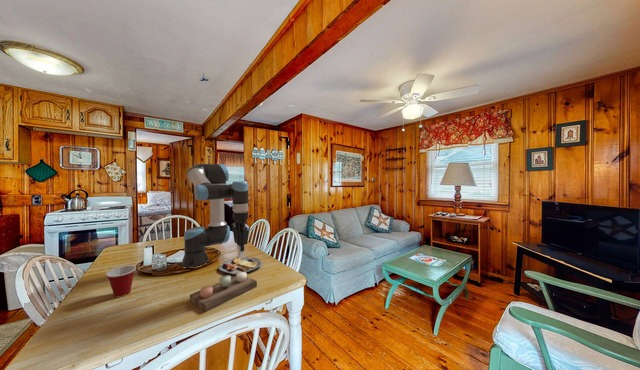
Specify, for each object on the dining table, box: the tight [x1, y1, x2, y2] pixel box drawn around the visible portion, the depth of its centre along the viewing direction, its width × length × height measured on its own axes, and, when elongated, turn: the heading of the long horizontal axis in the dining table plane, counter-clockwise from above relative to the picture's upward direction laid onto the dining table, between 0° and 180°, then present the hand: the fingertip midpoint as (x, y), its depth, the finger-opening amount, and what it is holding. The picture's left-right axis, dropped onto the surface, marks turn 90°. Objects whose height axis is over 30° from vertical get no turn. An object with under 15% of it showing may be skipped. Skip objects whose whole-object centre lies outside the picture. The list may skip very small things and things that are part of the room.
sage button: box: [219, 274, 232, 286], centre depth 106 cm, size 5×5×3 cm
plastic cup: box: [105, 264, 137, 297], centre depth 106 cm, size 11×11×12 cm
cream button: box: [235, 271, 248, 282], centre depth 113 cm, size 5×5×3 cm
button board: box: [189, 275, 258, 313], centre depth 106 cm, size 14×26×3 cm, turn 144°
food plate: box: [218, 256, 263, 275], centre depth 137 cm, size 25×23×4 cm
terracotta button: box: [199, 285, 213, 298], centre depth 99 cm, size 5×5×3 cm
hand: (241, 257), depth 113 cm, fingers closed
